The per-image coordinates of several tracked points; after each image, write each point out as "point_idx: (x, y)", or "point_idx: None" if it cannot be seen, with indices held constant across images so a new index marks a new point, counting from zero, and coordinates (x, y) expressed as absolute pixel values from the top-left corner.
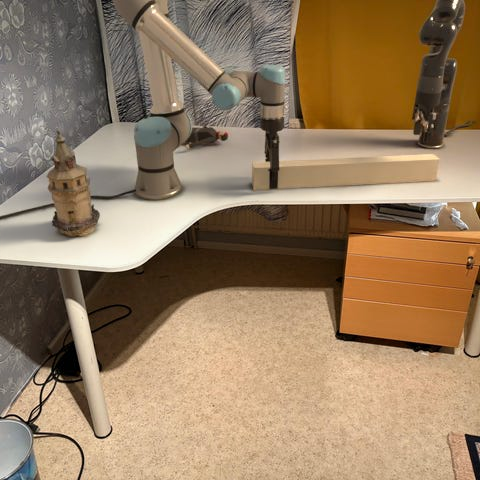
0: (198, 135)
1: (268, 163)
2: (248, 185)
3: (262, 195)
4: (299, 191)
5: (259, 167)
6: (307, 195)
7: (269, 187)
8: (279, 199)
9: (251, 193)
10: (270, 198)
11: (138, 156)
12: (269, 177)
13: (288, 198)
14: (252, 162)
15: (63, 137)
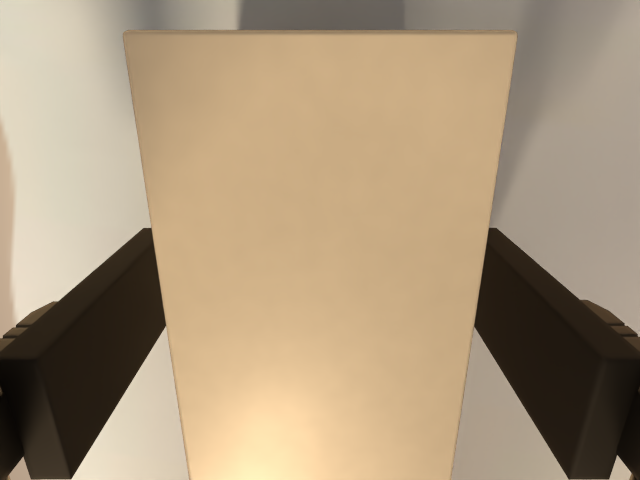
0: None
1: (368, 378)
2: (374, 6)
3: (98, 137)
4: None
5: (152, 181)
6: (119, 474)
7: (145, 233)
8: (21, 279)
9: (145, 18)
10: (33, 206)
11: None
12: (100, 285)
13: None
14: (510, 43)
15: None
